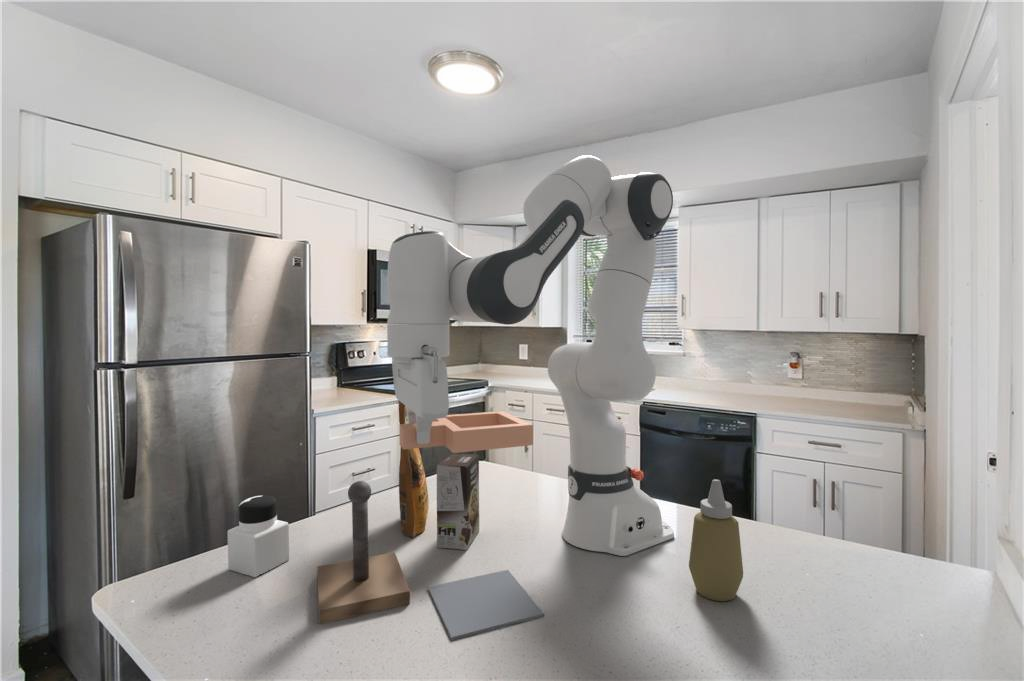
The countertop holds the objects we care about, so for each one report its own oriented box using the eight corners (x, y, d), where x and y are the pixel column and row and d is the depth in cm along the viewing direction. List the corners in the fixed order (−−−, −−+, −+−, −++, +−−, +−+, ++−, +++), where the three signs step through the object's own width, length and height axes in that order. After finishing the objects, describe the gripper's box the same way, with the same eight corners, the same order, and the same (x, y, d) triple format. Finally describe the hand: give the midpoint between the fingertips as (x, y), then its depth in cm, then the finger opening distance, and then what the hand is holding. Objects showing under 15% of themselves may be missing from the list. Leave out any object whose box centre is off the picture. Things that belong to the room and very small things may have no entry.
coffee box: (468, 550, 94) (467, 466, 93) (435, 547, 95) (434, 464, 94) (480, 530, 103) (480, 453, 102) (451, 528, 104) (450, 452, 103)
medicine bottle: (290, 560, 90) (288, 495, 90) (255, 578, 84) (253, 509, 83) (263, 552, 93) (261, 490, 93) (227, 570, 87) (225, 502, 86)
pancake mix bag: (390, 542, 97) (388, 401, 96) (401, 507, 116) (400, 388, 115) (424, 541, 98) (422, 400, 97) (430, 505, 117) (429, 388, 116)
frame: (502, 428, 83) (502, 411, 83) (532, 445, 72) (533, 424, 72) (394, 437, 76) (394, 418, 76) (409, 457, 65) (409, 435, 65)
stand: (394, 563, 89) (393, 465, 88) (409, 603, 76) (408, 489, 75) (317, 577, 84) (315, 474, 83) (319, 623, 71) (316, 501, 70)
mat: (507, 572, 86) (507, 569, 86) (543, 616, 73) (543, 613, 73) (428, 589, 80) (428, 586, 80) (451, 640, 67) (451, 637, 67)
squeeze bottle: (718, 612, 73) (719, 492, 73) (677, 586, 80) (678, 477, 80) (754, 598, 77) (756, 483, 76) (712, 574, 84) (713, 470, 84)
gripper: (460, 347, 63) (460, 454, 63) (424, 341, 82) (425, 424, 82) (411, 347, 61) (411, 459, 61) (386, 342, 79) (386, 427, 80)
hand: (419, 439), depth 72 cm, fingers closed on frame, 3 cm apart
